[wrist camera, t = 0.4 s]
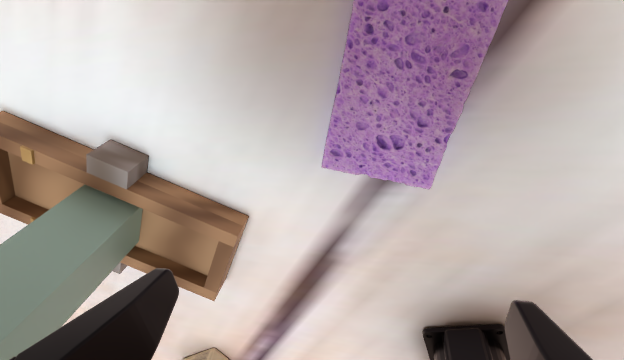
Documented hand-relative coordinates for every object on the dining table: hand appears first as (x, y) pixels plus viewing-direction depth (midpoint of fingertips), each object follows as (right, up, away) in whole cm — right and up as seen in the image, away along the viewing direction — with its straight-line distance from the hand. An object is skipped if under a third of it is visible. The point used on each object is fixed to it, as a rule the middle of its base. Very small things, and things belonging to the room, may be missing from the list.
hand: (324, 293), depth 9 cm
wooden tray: (-16, +1, +19) cm, 25 cm away
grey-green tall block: (-16, 0, +18) cm, 24 cm away
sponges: (+5, +9, +10) cm, 15 cm away
